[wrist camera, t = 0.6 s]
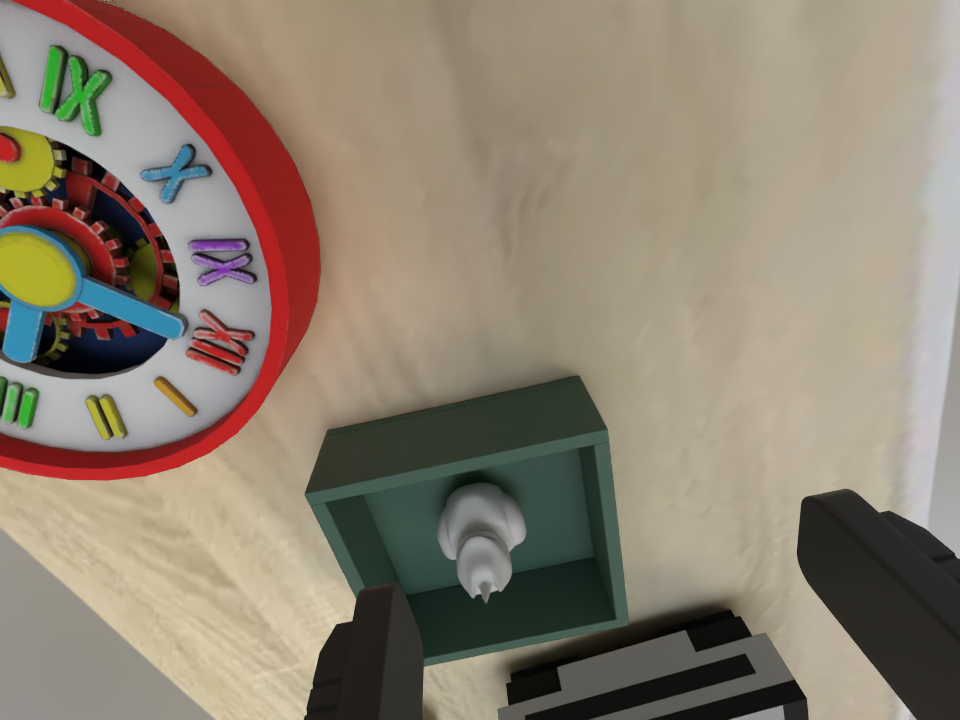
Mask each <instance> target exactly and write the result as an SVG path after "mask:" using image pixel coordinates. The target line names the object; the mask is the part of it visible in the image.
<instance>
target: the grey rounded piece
mask: <svg viewBox="0 0 960 720" xmlns="http://www.w3.org/2000/svg"><path fill="white" fill-rule="evenodd" d="M525 537H526V525H525V521H524V518H523V515H522V512H521V509H520V507H519V505H518V503H517V502H516V501H515V500H514V499H513V498H512V497H511V496H509V495H508V494H506V493H504V492H502V490H501V488H500V487H498V486H496V485H494V484H490V483H474V484H470V485H466V486H462V487H460V488H458V489H456V490H455V491H454V492H453V493H452V494H451V495H450V496H449V497H448V499H447V502H446V507H445V508H444V509H443V511H442V512H441V514H440V517H439V520H438V526H437V539H438V542H439V544H440V547H441V549H442V551H443V553H444V555H445V556H446V557H447V558H449V559H451V560H456V562H457V575H458V578H459V581H460V583H461V584H462V586H463V587H464V589H465V590H466V591H467V592H468V593H469V595H470V596H471V597H472V598H474V597H475V596H476V595H477V594H481V595H482V598H483V600H484V601H485V603H487V601H488V598H489V595H490V593H491V592H494V591H497V590H499V592H501V591H503V589H504V588H505V586H506V585H507V584H508V582H509V580H510V578H511V574H512V565H511V559H510V554H509V552H510V551H511V550H512V549H513V547H514V546H516V545H518V544H520V543H521V542H523V540H524V539H525Z"/></svg>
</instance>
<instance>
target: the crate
mask: <svg viewBox="0 0 960 720" xmlns="http://www.w3.org/2000/svg"><path fill="white" fill-rule="evenodd" d="M474 483H490V484H494V485H496V486H498V487H500V488H501V490H502V492H504V493H506V494H508V495H509V496H511V497H512V498H513V499H514V500H515V501H516V502H517V503H518V505H519V507H520V509H521V512H522V515H523V518H524V521H525V525H526V537H525V539H524V540H523V542H521V543H520V544H518V545H516V546H514V547H513V549H512V550H511V551H510V552H509V554H510V559H511V565H512V574H511V578H510V580H509V582H508V584H507V585H506V586H505V588H504V589H503V591H501V592H499V590H497V591H494V592H491V593H490V595H489V598H488V601H487V603H485V601H484V600H483V598H482V595H481V594H477V595H476V596H475V597H474V598H472V597H471V596H470V595H469V593H468V592H467V591H466V590H465V589H464V587H463V586H462V584H461V583H460V581H459V578H458V575H457V562H456V560H451V559H449V558H447V557H446V556H445V555H444V553H443V551H442V549H441V547H440V544H439V542H438V539H437V526H438V520H439V517H440V514H441V512H442V511H443V509H444V508H445V507H446V502H447V499H448V497H449V496H450V495H451V494H452V493H453V492H454V491H455V490H456V489H458V488H460V487H462V486H466V485H470V484H474ZM305 497H306V499H307V501H308V503H309V505H311V508H312V510H313V512H314V514H315V516H316V518H317V520H318V522H319V524H320V526H321V528H322V530H323V532H324V534H325V536H326V538H327V540H328V543H329V545H330V547H331V549H332V551H333V553H334V555H335V557H336V559H337V561H338V563H339V565H340V567H341V569H342V571H343V573H344V575H345V577H346V579H347V581H348V583H349V585H350V587H351V589H352V591H353V593H354V595H355V597H356V599H357V596H358V593H359V591H360V590H361V589H364V588H369V587H374V586H379V585H383V584H388V583H393V582H399V583H400V585H401V587H402V589H403V591H404V594H405V596H406V599H407V601H408V604H409V606H410V608H411V611H412V613H413V616H414V618H415V621H416V623H417V625H418V628H419V631H420V635H421V639H422V645H423V655H424V666H429V665H434V664H439V663H444V662H449V661H454V660H459V659H464V658H469V657H474V656H479V655H484V654H489V653H494V652H499V651H504V650H508V649H513V648H518V647H523V646H528V645H533V644H538V643H543V642H548V641H553V640H558V639H563V638H568V637H573V636H578V635H583V634H588V633H593V632H597V631H602V630H607V629H612V628H617V627H622V626H627V625H629V619H628V610H627V601H626V592H625V582H624V573H623V564H622V555H621V546H620V537H619V528H618V519H617V510H616V501H615V492H614V483H613V474H612V465H611V456H610V447H609V437H608V429H607V427H606V425H605V423H604V421H603V420H602V418H601V416H600V414H599V412H598V410H597V408H596V406H595V404H594V402H593V401H592V399H591V397H590V395H589V393H588V391H587V389H586V387H585V385H584V383H583V382H582V380H581V378H580V376H577V377H572V378H568V379H563V380H558V381H554V382H549V383H545V384H540V385H536V386H531V387H526V388H522V389H517V390H513V391H508V392H504V393H499V394H494V395H490V396H485V397H481V398H476V399H472V400H467V401H462V402H458V403H453V404H449V405H444V406H439V407H435V408H430V409H426V410H421V411H417V412H412V413H407V414H403V415H398V416H394V417H389V418H385V419H380V420H375V421H371V422H366V423H362V424H357V425H353V426H348V427H343V428H339V429H334V430H330V431H327V433H326V436H325V438H324V441H323V444H322V447H321V449H320V452H319V455H318V458H317V461H316V463H315V466H314V469H313V472H312V475H311V477H310V480H309V483H308V486H307V489H306V491H305Z"/></svg>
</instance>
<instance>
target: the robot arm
mask: <svg viewBox="0 0 960 720" xmlns="http://www.w3.org/2000/svg"><path fill="white" fill-rule="evenodd" d="M797 558H798V562H799V565H800V568H801V571H802V573H803V575H804V577H805V579H806V580H807V582H808V584H809V585H810V586H811V588H812V589H813V590H814V592H815V593H816V594H817V595H818V597H819V598H820V599H821V600H822V602H823V603H824V604H825V605H826V607H827V608H828V609H829V610H830V612H831V613H832V614H833V615H834V617H835V618H836V619H837V620H838V622H839V623H840V624H841V625H842V627H843V628H844V629H845V630H846V632H847V633H848V634H849V635H850V637H851V638H852V639H853V640H854V642H855V643H856V644H857V645H858V647H859V648H860V649H861V650H862V652H863V653H864V654H865V655H866V657H867V658H868V659H869V660H870V662H871V663H872V664H873V665H874V667H875V668H876V669H877V670H878V672H879V673H880V674H881V675H882V677H883V678H884V679H885V680H886V682H887V683H888V684H889V685H890V687H891V688H892V689H893V690H894V692H895V693H896V694H897V695H898V697H899V698H900V699H901V700H902V702H903V703H904V704H905V705H906V707H907V708H908V709H909V710H910V712H911V713H912V714H913V715H914V717H915V718H916V719H917V720H960V559H958V558H957V557H956V556H955V553H954V552H952V551H951V550H950V549H949V548H948V547H947V546H945V545H944V544H943V543H942V542H940V541H939V540H938V539H937V538H936V537H935V536H933V535H932V534H931V533H930V532H929V531H927V530H926V529H925V528H923V527H921V526H919V525H917V524H915V523H913V522H911V521H909V520H907V519H905V518H903V517H901V516H899V515H897V514H895V513H893V512H891V511H886V512H881V513H879V512H878V511H876V510H875V509H874V508H873V507H872V506H871V505H870V504H869V503H867V502H866V501H865V500H864V499H863V498H862V497H861V496H859V495H858V494H857V493H856V492H854V491H852V490H849V489H841V490H837V491H832V492H827V493H822V494H818V495H813V496H808V497H805V498H804V499H803V500H802V503H801V512H800V523H799V534H798V545H797ZM423 670H424V655H423V645H422V639H421V635H420V631H419V628H418V625H417V623H416V621H415V618H414V616H413V613H412V611H411V608H410V606H409V604H408V601H407V599H406V596H405V594H404V591H403V589H402V587H401V585H400V583H399V582H393V583H388V584H383V585H379V586H374V587H369V588H364V589H361V590H360V591H359V593H358V596H357V600H356V605H355V610H354V616H353V621H351V622H346V623H341V624H336V626H335V628H334V629H333V631H332V633H331V634H330V636H329V638H328V640H327V641H326V643H325V645H324V646H323V648H322V650H321V651H320V654H319V658H318V662H317V667H316V671H315V675H314V679H313V689H311V692H310V696H309V700H308V705H307V715H306V716H305V717H304V720H422V697H423Z"/></svg>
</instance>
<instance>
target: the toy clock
mask: <svg viewBox="0 0 960 720" xmlns="http://www.w3.org/2000/svg"><path fill="white" fill-rule="evenodd" d="M320 273H321V265H320V249H319V236H318V231H317V227H316V223H315V219H314V215H313V211H312V206H311V202H310V199H309V197H308V194H307V192H306V190H305V187H304V185H303V182H302V180H301V178H300V175H299V173H298V170H297V168H296V166H295V163H294V162H293V160H292V158H291V157H290V155H289V153H288V152H287V150H286V149H285V147H284V145H283V144H282V142H281V140H280V139H279V137H278V135H277V134H276V132H275V130H274V129H273V127H272V126H271V125H270V123H269V122H268V121H267V120H266V118H265V117H264V116H263V115H262V114H261V112H260V111H259V110H258V109H257V108H256V106H255V105H254V104H253V103H252V102H251V100H250V99H249V98H248V97H247V95H246V94H245V93H244V92H243V91H242V90H241V89H240V88H239V87H238V86H237V85H236V84H235V83H234V82H232V81H231V80H230V79H229V78H228V77H227V76H226V75H225V74H224V73H223V72H222V71H220V70H219V69H218V68H217V67H216V66H215V65H214V64H213V63H212V62H211V61H209V60H208V59H207V58H206V57H205V56H203V55H202V54H200V53H199V52H197V51H196V50H194V49H193V48H191V47H190V46H188V45H187V44H185V43H184V42H182V41H181V40H180V39H178V38H177V37H175V36H174V35H172V34H171V33H169V32H168V31H166V30H165V29H163V28H161V27H158V26H156V25H154V24H152V23H150V22H148V21H146V20H144V19H142V18H140V17H138V16H136V15H133V14H131V13H129V12H127V11H125V10H123V9H121V8H119V7H115V6H112V5H109V4H106V3H103V2H100V1H96V0H0V467H2V468H6V469H10V470H14V471H18V472H21V473H25V474H31V475H38V476H45V477H53V478H60V479H67V480H116V479H125V478H133V477H142V476H147V475H151V474H155V473H158V472H162V471H166V470H170V469H173V468H177V467H180V466H182V465H184V464H186V463H189V462H191V461H193V460H195V459H197V458H200V457H202V456H204V455H206V454H208V453H210V452H211V451H213V450H214V449H216V448H217V447H219V446H220V445H221V444H223V443H224V442H226V441H227V440H228V439H230V438H231V437H233V436H234V435H235V434H237V433H238V432H239V430H240V429H241V428H242V427H243V426H244V425H245V424H246V423H247V422H248V421H249V419H250V418H251V417H252V416H253V415H254V414H255V413H256V412H257V411H258V410H259V408H260V406H261V405H262V403H263V402H264V400H265V398H266V397H267V395H268V394H269V392H270V390H271V389H272V387H273V386H274V384H275V382H276V381H277V379H278V377H279V376H280V374H281V373H282V371H283V369H284V368H285V366H286V365H287V363H288V361H289V360H290V358H291V357H292V355H293V353H294V352H295V350H296V348H297V347H298V345H299V343H300V341H301V340H302V338H303V336H304V335H305V333H306V331H307V329H308V327H309V324H310V321H311V318H312V315H313V312H314V309H315V306H316V303H317V297H318V289H319V281H320Z"/></svg>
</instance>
